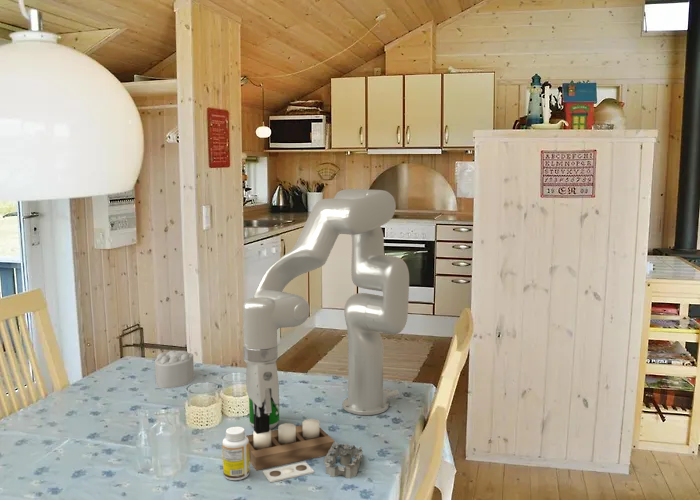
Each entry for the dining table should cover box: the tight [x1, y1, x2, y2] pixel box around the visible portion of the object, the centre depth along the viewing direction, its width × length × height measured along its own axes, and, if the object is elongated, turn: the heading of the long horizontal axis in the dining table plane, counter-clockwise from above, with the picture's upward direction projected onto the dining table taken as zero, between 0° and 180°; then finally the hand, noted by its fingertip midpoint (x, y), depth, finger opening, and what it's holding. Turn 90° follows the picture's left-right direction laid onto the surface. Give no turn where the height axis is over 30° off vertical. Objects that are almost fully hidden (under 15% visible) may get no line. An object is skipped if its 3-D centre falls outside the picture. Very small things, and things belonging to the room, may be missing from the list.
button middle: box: [277, 422, 297, 445], centre depth 152 cm, size 4×4×4 cm
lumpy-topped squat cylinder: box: [154, 350, 195, 389], centre depth 200 cm, size 10×13×9 cm
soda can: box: [248, 383, 280, 430], centre depth 166 cm, size 8×8×12 cm
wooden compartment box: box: [245, 424, 336, 471], centre depth 152 cm, size 19×12×3 cm, turn 116°
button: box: [301, 418, 320, 440], centre depth 154 cm, size 4×4×4 cm
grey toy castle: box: [323, 441, 364, 479], centre depth 144 cm, size 11×8×4 cm
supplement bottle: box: [221, 426, 250, 481], centre depth 140 cm, size 6×6×10 cm
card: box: [262, 461, 315, 483], centre depth 142 cm, size 10×5×1 cm, turn 116°
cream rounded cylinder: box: [252, 429, 272, 450], centre depth 149 cm, size 4×4×4 cm
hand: (261, 431), depth 149 cm, fingers closed
